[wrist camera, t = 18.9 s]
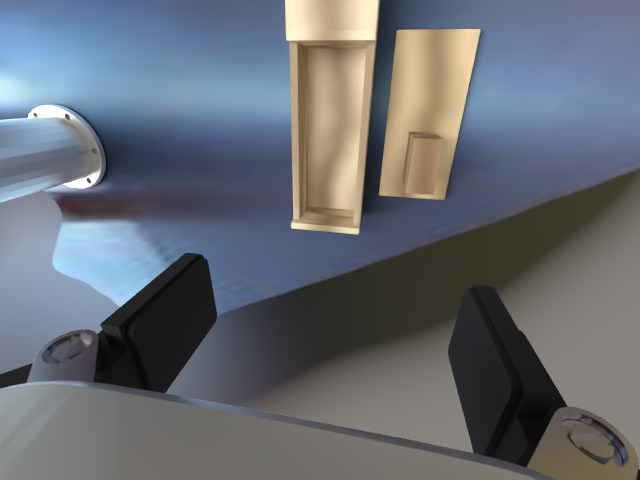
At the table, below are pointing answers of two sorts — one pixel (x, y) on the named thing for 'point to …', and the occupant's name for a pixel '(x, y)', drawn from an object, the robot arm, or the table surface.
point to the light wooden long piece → (330, 108)
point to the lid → (425, 110)
